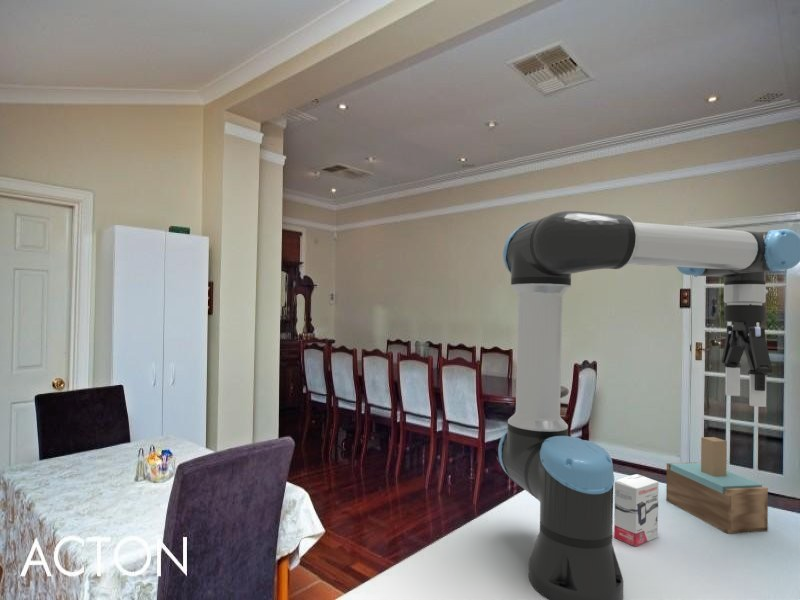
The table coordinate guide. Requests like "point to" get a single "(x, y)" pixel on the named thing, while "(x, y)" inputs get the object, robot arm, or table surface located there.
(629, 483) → the ink box
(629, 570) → the table surface
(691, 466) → the lid
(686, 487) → the box
